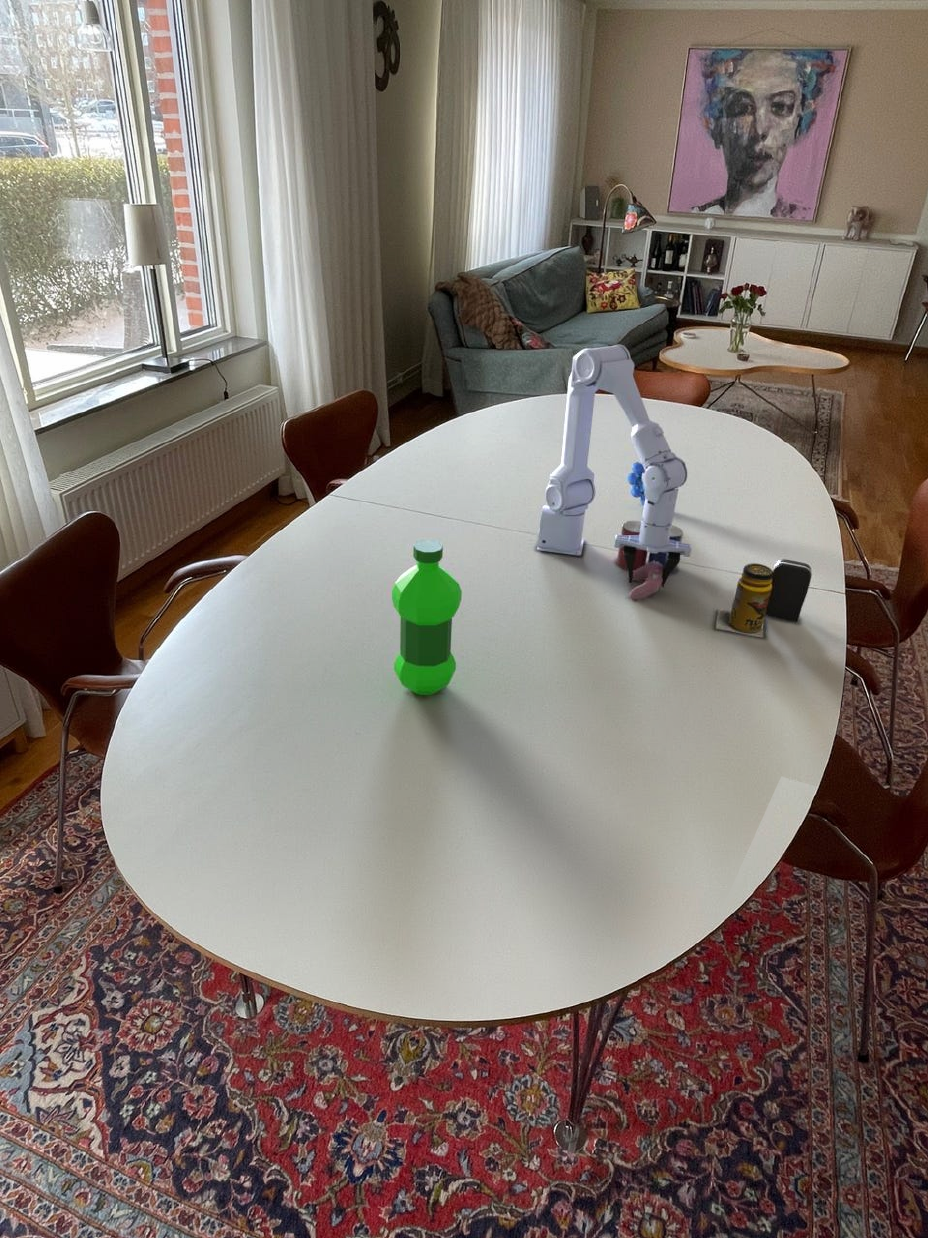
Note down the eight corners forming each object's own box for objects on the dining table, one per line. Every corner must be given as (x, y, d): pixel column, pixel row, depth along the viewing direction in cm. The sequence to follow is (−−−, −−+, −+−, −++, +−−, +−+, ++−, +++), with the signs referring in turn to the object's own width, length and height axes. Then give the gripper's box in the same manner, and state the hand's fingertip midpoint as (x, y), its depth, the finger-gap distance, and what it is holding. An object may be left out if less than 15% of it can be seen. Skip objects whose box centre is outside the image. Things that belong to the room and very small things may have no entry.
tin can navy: (646, 572, 174) (653, 534, 170) (647, 559, 179) (654, 522, 175) (675, 576, 173) (683, 537, 169) (675, 563, 178) (683, 526, 174)
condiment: (762, 638, 153) (778, 580, 147) (715, 629, 155) (729, 572, 149) (763, 619, 159) (777, 563, 153) (717, 611, 161) (730, 555, 155)
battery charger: (799, 615, 161) (814, 562, 155) (798, 624, 158) (814, 570, 152) (762, 606, 163) (776, 554, 158) (760, 615, 160) (774, 562, 155)
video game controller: (647, 609, 164) (668, 583, 160) (627, 597, 163) (649, 571, 159) (647, 586, 172) (668, 561, 168) (629, 575, 172) (649, 549, 168)
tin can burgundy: (616, 567, 175) (621, 530, 171) (617, 555, 180) (623, 518, 176) (644, 571, 174) (651, 533, 170) (645, 559, 179) (652, 522, 175)
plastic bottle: (434, 712, 129) (439, 568, 116) (379, 689, 133) (378, 548, 121) (468, 682, 136) (476, 543, 124) (415, 661, 141) (418, 525, 128)
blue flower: (619, 507, 204) (626, 461, 198) (625, 498, 210) (632, 452, 203) (666, 516, 201) (675, 469, 194) (671, 507, 206) (680, 460, 200)
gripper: (617, 523, 157) (608, 587, 164) (696, 533, 155) (683, 597, 162) (619, 509, 163) (610, 571, 170) (695, 519, 161) (682, 581, 168)
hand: (645, 583), depth 166 cm, fingers closed on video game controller, 5 cm apart
